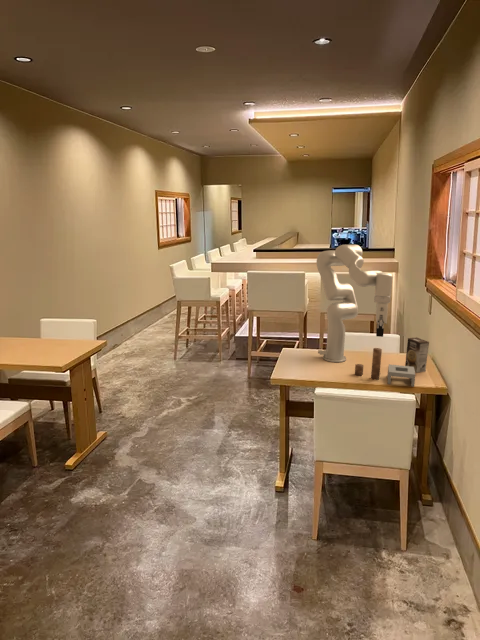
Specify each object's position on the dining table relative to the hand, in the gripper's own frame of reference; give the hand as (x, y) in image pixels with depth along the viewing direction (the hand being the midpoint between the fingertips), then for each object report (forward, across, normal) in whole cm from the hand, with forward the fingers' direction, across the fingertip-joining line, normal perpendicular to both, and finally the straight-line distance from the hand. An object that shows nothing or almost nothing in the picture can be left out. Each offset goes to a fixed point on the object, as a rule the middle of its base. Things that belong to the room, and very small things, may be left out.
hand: (379, 333), depth 243 cm
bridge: (+23, 0, -12) cm, 25 cm away
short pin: (+23, +3, +8) cm, 24 cm away
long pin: (+23, 0, 0) cm, 23 cm away
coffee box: (+23, +21, -20) cm, 37 cm away
